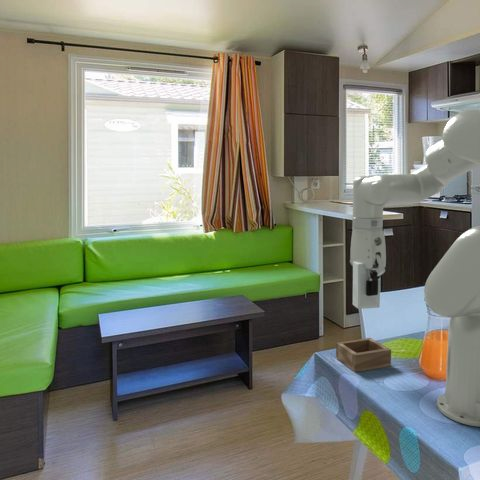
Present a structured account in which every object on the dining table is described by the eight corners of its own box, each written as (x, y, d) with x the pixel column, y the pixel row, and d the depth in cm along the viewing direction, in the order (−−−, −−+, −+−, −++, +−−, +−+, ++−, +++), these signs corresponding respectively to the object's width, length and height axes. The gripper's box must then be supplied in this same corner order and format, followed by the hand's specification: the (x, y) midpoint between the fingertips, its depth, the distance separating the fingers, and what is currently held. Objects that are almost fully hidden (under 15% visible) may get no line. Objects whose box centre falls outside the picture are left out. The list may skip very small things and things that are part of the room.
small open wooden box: (390, 366, 115) (391, 349, 114) (354, 372, 111) (355, 355, 111) (369, 353, 124) (370, 337, 123) (335, 358, 120) (336, 342, 120)
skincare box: (373, 303, 118) (374, 260, 116) (379, 308, 114) (381, 263, 112) (351, 304, 117) (352, 261, 116) (357, 309, 113) (358, 264, 111)
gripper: (400, 226, 106) (398, 299, 108) (361, 220, 122) (360, 284, 124) (374, 228, 103) (372, 302, 106) (337, 222, 119) (336, 286, 122)
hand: (365, 291), depth 115 cm, fingers closed on skincare box, 4 cm apart
